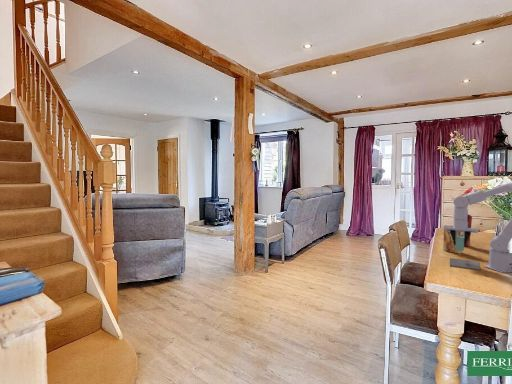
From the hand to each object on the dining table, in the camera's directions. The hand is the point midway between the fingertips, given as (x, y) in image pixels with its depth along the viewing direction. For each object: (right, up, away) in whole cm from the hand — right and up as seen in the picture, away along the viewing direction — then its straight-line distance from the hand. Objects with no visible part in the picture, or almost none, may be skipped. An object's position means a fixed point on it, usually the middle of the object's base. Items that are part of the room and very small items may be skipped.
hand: (459, 245), depth 147 cm
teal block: (0, -2, 0) cm, 2 cm away
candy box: (+10, -8, +20) cm, 24 cm away
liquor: (+26, -7, +33) cm, 43 cm away
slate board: (0, -9, -3) cm, 10 cm away
